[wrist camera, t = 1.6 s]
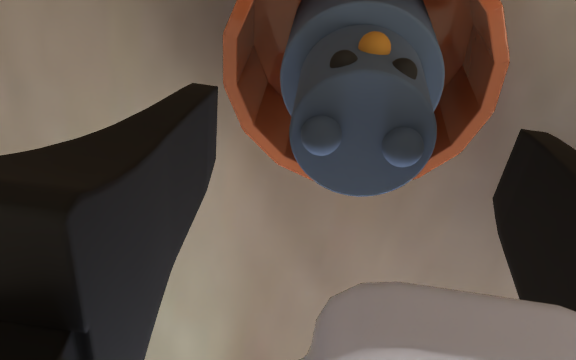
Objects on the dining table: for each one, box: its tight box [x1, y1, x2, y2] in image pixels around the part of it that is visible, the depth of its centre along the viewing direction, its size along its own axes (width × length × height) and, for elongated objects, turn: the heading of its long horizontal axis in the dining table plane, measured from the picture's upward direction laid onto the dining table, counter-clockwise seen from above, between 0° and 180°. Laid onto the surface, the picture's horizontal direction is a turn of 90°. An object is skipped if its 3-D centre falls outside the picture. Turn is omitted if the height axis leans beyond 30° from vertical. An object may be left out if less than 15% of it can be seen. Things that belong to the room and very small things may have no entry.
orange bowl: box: [223, 0, 510, 181], centre depth 18 cm, size 8×8×4 cm
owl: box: [280, 0, 445, 196], centre depth 16 cm, size 5×5×8 cm
